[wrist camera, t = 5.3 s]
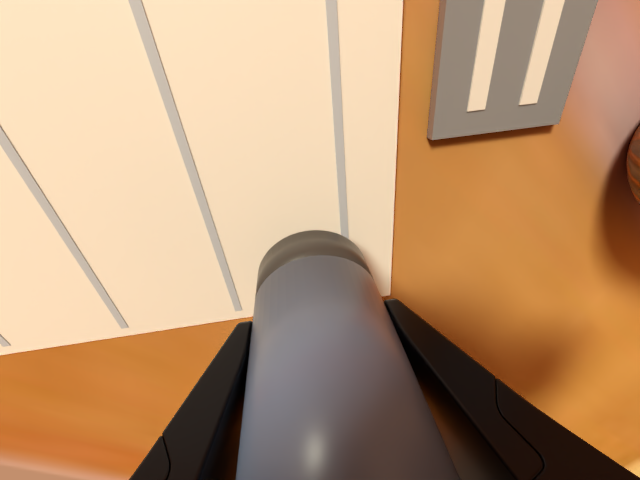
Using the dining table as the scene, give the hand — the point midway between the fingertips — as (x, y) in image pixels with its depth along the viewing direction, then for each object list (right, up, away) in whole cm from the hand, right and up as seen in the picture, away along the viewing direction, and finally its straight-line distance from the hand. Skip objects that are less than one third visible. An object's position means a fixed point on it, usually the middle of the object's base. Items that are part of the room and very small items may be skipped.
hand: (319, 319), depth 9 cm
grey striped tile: (+6, +9, 0) cm, 11 cm away
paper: (-7, +4, +1) cm, 8 cm away
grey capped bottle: (0, +1, +2) cm, 2 cm away
